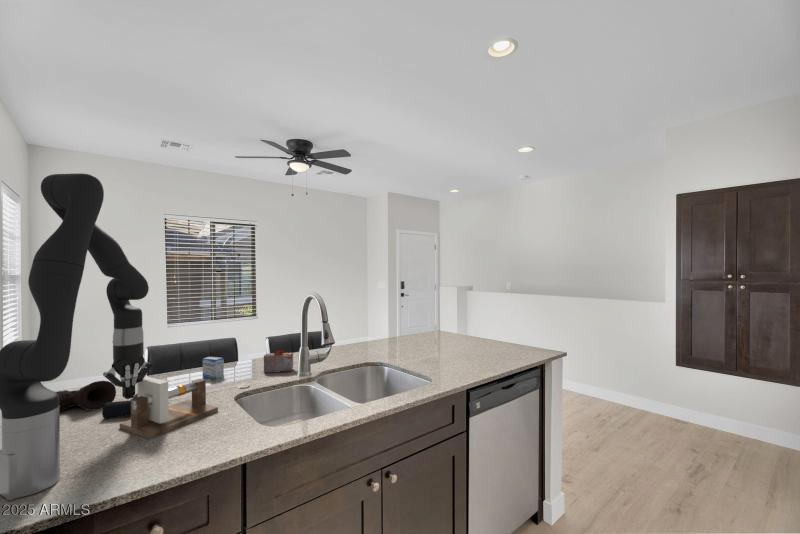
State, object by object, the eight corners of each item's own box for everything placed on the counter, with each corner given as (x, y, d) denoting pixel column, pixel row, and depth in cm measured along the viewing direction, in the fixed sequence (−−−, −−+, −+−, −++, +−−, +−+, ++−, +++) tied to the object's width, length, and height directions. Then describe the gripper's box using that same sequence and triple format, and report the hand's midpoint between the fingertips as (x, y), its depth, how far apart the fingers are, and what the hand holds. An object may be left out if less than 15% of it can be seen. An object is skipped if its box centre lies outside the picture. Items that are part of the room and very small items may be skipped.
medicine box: (202, 377, 162) (202, 358, 162) (210, 374, 166) (210, 356, 166) (216, 379, 160) (216, 359, 160) (224, 376, 164) (224, 357, 164)
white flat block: (160, 423, 109) (159, 383, 109) (137, 416, 114) (137, 378, 114) (168, 420, 111) (168, 381, 111) (146, 413, 117) (145, 376, 117)
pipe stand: (149, 438, 104) (149, 404, 104) (119, 428, 112) (119, 395, 112) (217, 411, 124) (217, 382, 124) (188, 403, 131) (188, 376, 131)
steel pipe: (137, 411, 107) (137, 400, 107) (130, 409, 109) (130, 398, 109) (205, 388, 127) (205, 379, 127) (199, 387, 128) (199, 378, 128)
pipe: (42, 389, 125) (64, 387, 119) (94, 379, 139) (116, 377, 133) (43, 418, 124) (65, 418, 118) (95, 405, 138) (117, 405, 131)
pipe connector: (119, 392, 129) (167, 389, 132) (120, 407, 129) (167, 403, 132) (101, 405, 118) (154, 400, 121) (102, 421, 118) (154, 416, 121)
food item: (294, 367, 177) (294, 347, 177) (292, 372, 170) (292, 351, 169) (265, 369, 175) (265, 349, 175) (262, 374, 167) (262, 353, 167)
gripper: (109, 347, 103) (110, 408, 103) (158, 338, 115) (158, 393, 115) (96, 345, 106) (96, 403, 106) (144, 336, 118) (145, 389, 118)
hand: (129, 398), depth 111 cm, fingers closed
